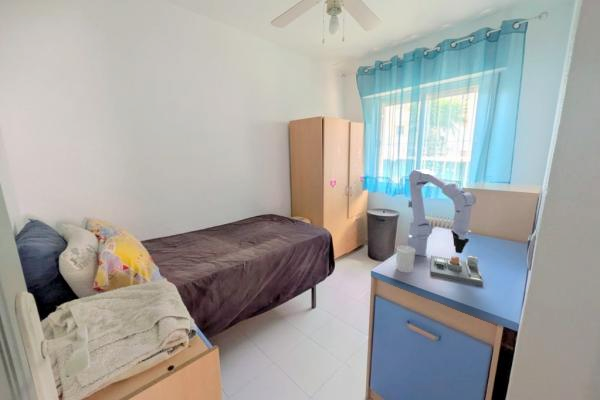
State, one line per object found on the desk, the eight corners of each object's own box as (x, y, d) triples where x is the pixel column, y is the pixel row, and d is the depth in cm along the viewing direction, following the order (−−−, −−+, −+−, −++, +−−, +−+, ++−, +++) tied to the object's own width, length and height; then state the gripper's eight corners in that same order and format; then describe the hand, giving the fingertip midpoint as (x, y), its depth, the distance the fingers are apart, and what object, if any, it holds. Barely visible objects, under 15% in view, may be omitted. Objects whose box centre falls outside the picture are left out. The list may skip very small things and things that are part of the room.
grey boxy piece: (467, 266, 109) (468, 257, 109) (466, 264, 112) (467, 255, 111) (477, 268, 108) (478, 258, 107) (476, 266, 110) (477, 256, 109)
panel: (430, 275, 107) (431, 267, 106) (430, 259, 122) (431, 251, 122) (482, 286, 98) (483, 277, 97) (475, 267, 114) (476, 259, 113)
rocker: (436, 263, 110) (437, 261, 110) (436, 260, 116) (436, 258, 115) (444, 264, 109) (444, 262, 109) (443, 261, 114) (443, 259, 114)
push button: (450, 264, 109) (451, 258, 108) (450, 261, 112) (451, 255, 111) (458, 265, 108) (459, 259, 107) (458, 263, 110) (458, 257, 110)
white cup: (405, 275, 107) (407, 254, 105) (391, 267, 114) (392, 247, 112) (417, 270, 111) (419, 250, 109) (403, 263, 118) (404, 244, 116)
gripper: (475, 226, 98) (470, 257, 100) (470, 217, 110) (466, 245, 113) (454, 223, 101) (450, 254, 104) (451, 215, 113) (448, 242, 116)
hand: (457, 249), depth 108 cm, fingers open, 7 cm apart
